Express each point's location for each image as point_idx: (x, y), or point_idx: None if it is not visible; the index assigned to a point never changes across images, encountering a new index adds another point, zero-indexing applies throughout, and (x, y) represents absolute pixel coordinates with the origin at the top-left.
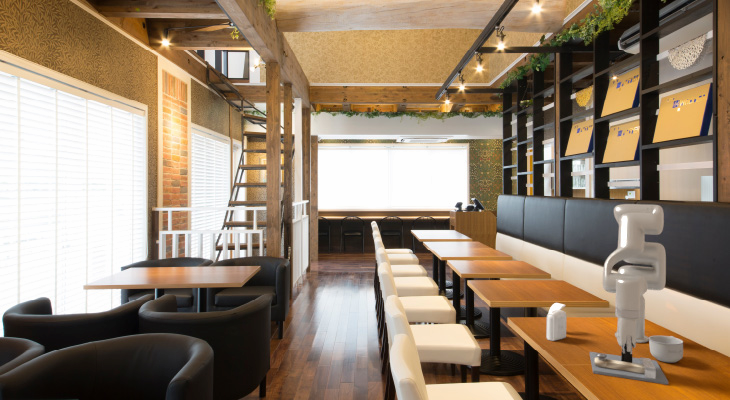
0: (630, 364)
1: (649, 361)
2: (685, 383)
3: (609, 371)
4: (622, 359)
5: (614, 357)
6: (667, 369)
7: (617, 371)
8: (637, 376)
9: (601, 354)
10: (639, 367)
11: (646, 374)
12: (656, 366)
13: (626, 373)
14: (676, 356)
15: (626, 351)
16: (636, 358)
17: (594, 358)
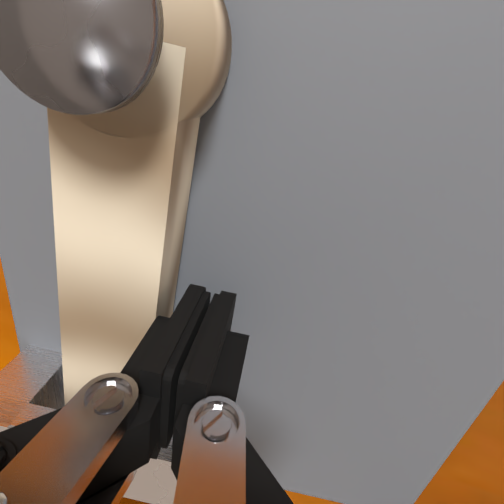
0: (95, 337)
1: (138, 491)
2: None
3: (5, 96)
4: (175, 313)
5: (469, 285)
6: (298, 500)
7: (49, 184)
8: (24, 306)
9: (65, 7)
10: (64, 378)
11: (8, 370)
12: (285, 478)
13: (43, 248)
14: None
15: (28, 437)
16: (443, 439)
17: (425, 8)
